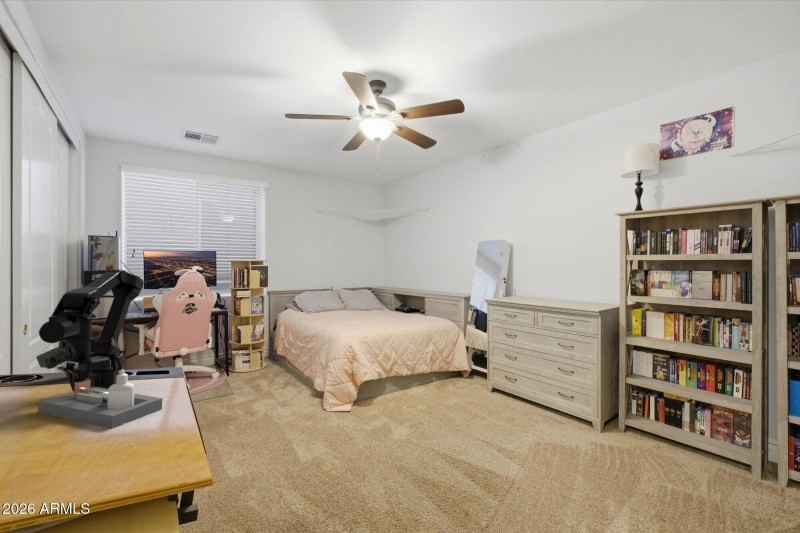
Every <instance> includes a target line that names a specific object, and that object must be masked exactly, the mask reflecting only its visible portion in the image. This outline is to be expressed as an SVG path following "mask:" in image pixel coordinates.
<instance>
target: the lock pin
mask: <svg viewBox="0 0 800 533" xmlns="http://www.w3.org/2000/svg"><path fill="white" fill-rule="evenodd" d="M90 384H91V380H89V379H87V378H86V379H85V380H82V381H78V382H75V393H74V397H76V394H77V393H84V394H89V395H95V396H100V397H103V400H106V401H108V393H107V392H102V391H96V390H90Z"/></svg>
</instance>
